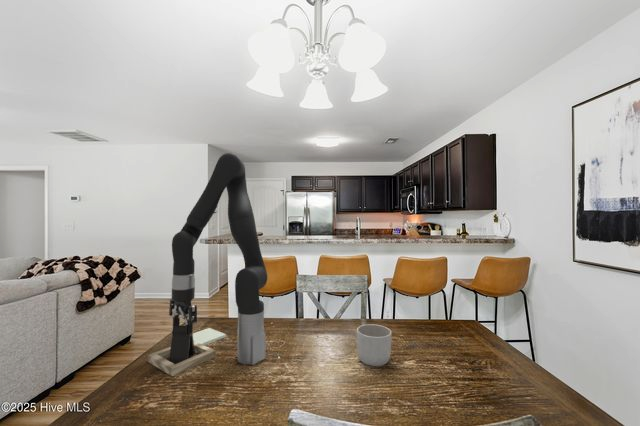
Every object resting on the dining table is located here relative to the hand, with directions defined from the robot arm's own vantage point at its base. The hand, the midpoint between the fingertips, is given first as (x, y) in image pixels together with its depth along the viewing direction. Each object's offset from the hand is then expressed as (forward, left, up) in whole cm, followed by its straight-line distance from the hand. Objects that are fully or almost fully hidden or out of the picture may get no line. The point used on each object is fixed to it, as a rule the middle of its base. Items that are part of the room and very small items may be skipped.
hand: (182, 331), depth 107 cm
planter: (-56, -40, -10) cm, 70 cm away
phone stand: (0, 0, -10) cm, 10 cm away
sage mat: (+10, -16, -10) cm, 21 cm away
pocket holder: (0, 0, -10) cm, 10 cm away
